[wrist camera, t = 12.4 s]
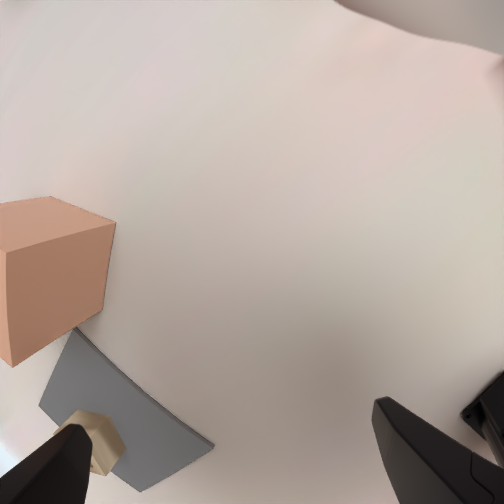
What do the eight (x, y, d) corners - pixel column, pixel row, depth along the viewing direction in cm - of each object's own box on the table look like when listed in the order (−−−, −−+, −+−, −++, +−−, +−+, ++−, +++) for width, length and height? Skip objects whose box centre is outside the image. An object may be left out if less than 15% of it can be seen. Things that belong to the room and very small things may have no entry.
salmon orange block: (116, 222, 19) (6, 252, 11) (102, 309, 21) (12, 367, 12) (50, 196, 20) (-51, 212, 11) (42, 275, 22) (-45, 313, 13)
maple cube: (109, 415, 23) (84, 444, 19) (126, 448, 24) (105, 477, 20) (77, 409, 24) (52, 434, 20) (94, 441, 25) (72, 466, 21)
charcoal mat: (214, 445, 22) (213, 448, 22) (141, 490, 26) (140, 492, 25) (76, 327, 22) (73, 329, 22) (40, 403, 26) (38, 405, 26)
